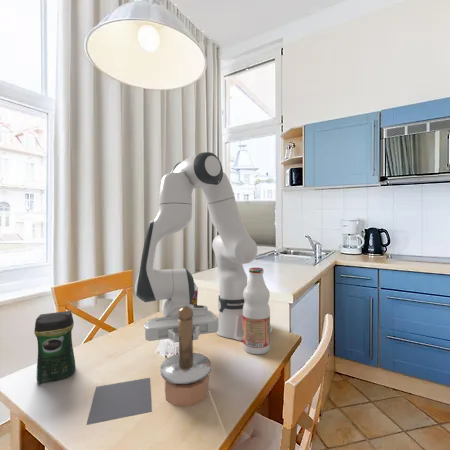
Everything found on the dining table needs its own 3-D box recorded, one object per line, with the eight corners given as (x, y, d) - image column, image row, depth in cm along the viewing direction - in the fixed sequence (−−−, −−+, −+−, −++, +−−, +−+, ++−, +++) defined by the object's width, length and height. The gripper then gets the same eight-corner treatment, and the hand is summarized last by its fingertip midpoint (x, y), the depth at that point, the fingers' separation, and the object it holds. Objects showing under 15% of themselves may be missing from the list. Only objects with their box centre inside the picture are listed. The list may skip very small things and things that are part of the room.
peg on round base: (205, 353, 81) (204, 296, 80) (216, 378, 68) (216, 312, 67) (159, 359, 77) (158, 301, 76) (162, 388, 65) (161, 318, 64)
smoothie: (197, 322, 120) (196, 276, 119) (177, 322, 120) (177, 276, 119) (199, 315, 128) (198, 272, 128) (181, 315, 129) (180, 272, 128)
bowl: (202, 377, 80) (202, 360, 80) (212, 403, 69) (212, 384, 69) (163, 384, 77) (163, 366, 77) (167, 412, 66) (166, 392, 66)
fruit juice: (252, 358, 91) (252, 272, 89) (237, 346, 99) (237, 267, 98) (275, 350, 95) (275, 269, 94) (259, 339, 103) (259, 265, 102)
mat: (150, 379, 79) (150, 377, 79) (151, 413, 66) (151, 411, 66) (96, 388, 75) (96, 386, 75) (86, 427, 62) (86, 424, 62)
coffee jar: (77, 365, 86) (75, 306, 86) (73, 379, 79) (71, 315, 78) (40, 372, 83) (38, 310, 82) (33, 387, 76) (30, 320, 75)
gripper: (143, 311, 82) (144, 331, 68) (211, 305, 87) (223, 321, 74) (143, 333, 82) (144, 356, 69) (211, 324, 88) (223, 344, 74)
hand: (186, 338), depth 71 cm, fingers closed on peg on round base, 3 cm apart
